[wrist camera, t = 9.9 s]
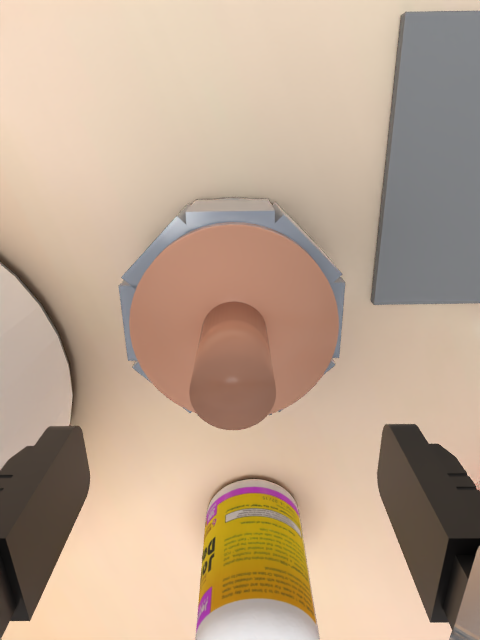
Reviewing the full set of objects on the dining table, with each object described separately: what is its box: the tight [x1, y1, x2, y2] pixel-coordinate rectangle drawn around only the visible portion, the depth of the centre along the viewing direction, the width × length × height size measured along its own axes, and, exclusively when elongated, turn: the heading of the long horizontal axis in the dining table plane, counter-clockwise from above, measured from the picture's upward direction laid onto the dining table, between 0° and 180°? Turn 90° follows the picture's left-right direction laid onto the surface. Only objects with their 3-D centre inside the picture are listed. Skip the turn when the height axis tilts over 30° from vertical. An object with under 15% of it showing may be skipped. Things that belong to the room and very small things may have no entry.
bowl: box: [119, 197, 345, 416], centre depth 22 cm, size 10×10×6 cm
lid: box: [129, 222, 339, 430], centre depth 17 cm, size 9×9×6 cm
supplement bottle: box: [195, 479, 320, 640], centre depth 25 cm, size 7×7×13 cm
